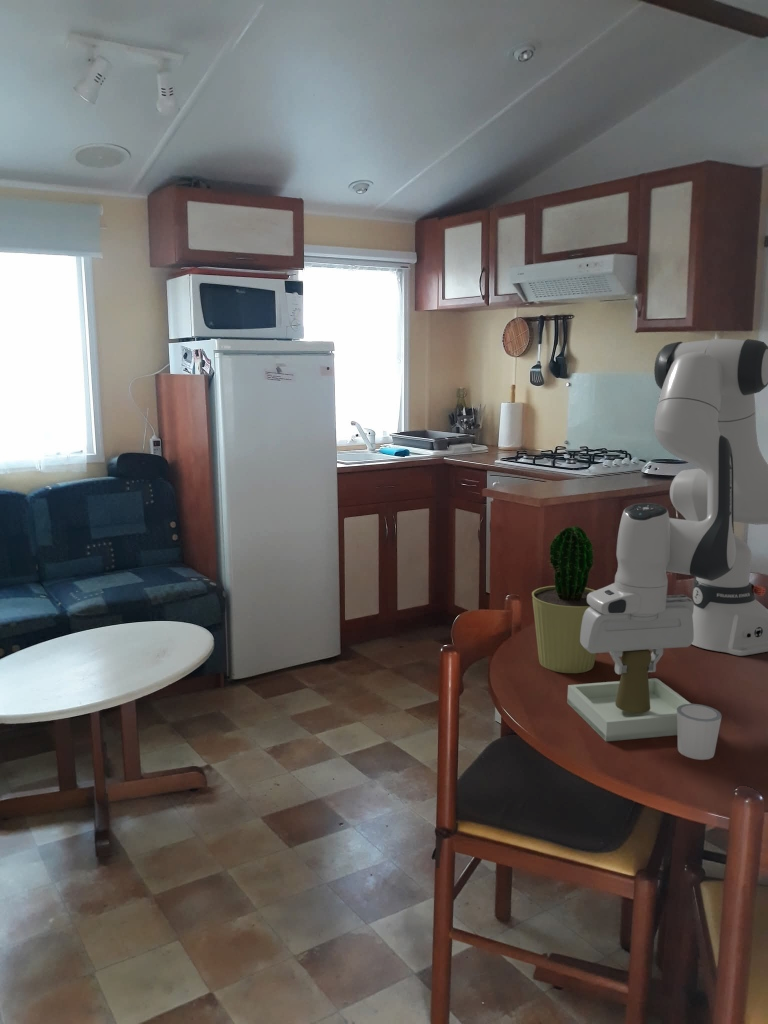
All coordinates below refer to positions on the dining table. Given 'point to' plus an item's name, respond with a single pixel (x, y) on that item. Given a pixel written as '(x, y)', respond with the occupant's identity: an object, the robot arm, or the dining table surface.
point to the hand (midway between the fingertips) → (634, 672)
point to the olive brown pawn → (634, 682)
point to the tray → (620, 725)
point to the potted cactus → (565, 604)
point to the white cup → (697, 730)
